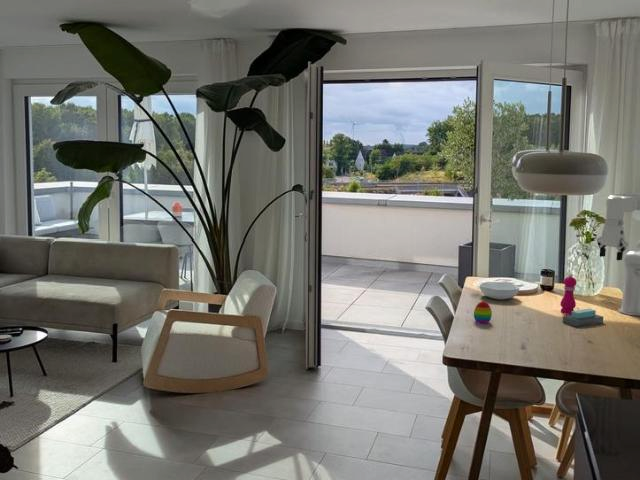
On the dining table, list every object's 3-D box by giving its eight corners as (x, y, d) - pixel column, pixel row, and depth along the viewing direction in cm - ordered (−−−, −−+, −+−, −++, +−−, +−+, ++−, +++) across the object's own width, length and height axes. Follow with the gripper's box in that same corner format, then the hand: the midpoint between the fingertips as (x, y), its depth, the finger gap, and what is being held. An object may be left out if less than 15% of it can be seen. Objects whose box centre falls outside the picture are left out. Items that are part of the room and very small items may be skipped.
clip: (588, 319, 318) (589, 308, 317) (594, 321, 314) (595, 310, 314) (570, 322, 312) (571, 311, 311) (576, 324, 309) (577, 312, 308)
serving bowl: (525, 298, 360) (526, 286, 359) (506, 304, 345) (507, 291, 344) (491, 291, 374) (491, 279, 373) (471, 297, 359) (472, 285, 358)
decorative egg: (491, 320, 313) (492, 300, 312) (491, 325, 305) (492, 304, 304) (473, 319, 315) (474, 298, 314) (473, 323, 307) (474, 302, 306)
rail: (589, 318, 321) (589, 312, 320) (602, 322, 314) (603, 316, 313) (562, 322, 313) (563, 316, 312) (575, 326, 306) (576, 320, 305)
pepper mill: (576, 315, 326) (579, 275, 323) (560, 314, 328) (564, 274, 325) (573, 311, 333) (577, 273, 330) (558, 310, 335) (561, 272, 332)
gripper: (635, 224, 307) (631, 261, 309) (604, 220, 322) (601, 254, 325) (624, 225, 303) (620, 262, 306) (593, 220, 319) (590, 255, 321)
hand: (610, 258), depth 315 cm, fingers open, 9 cm apart
